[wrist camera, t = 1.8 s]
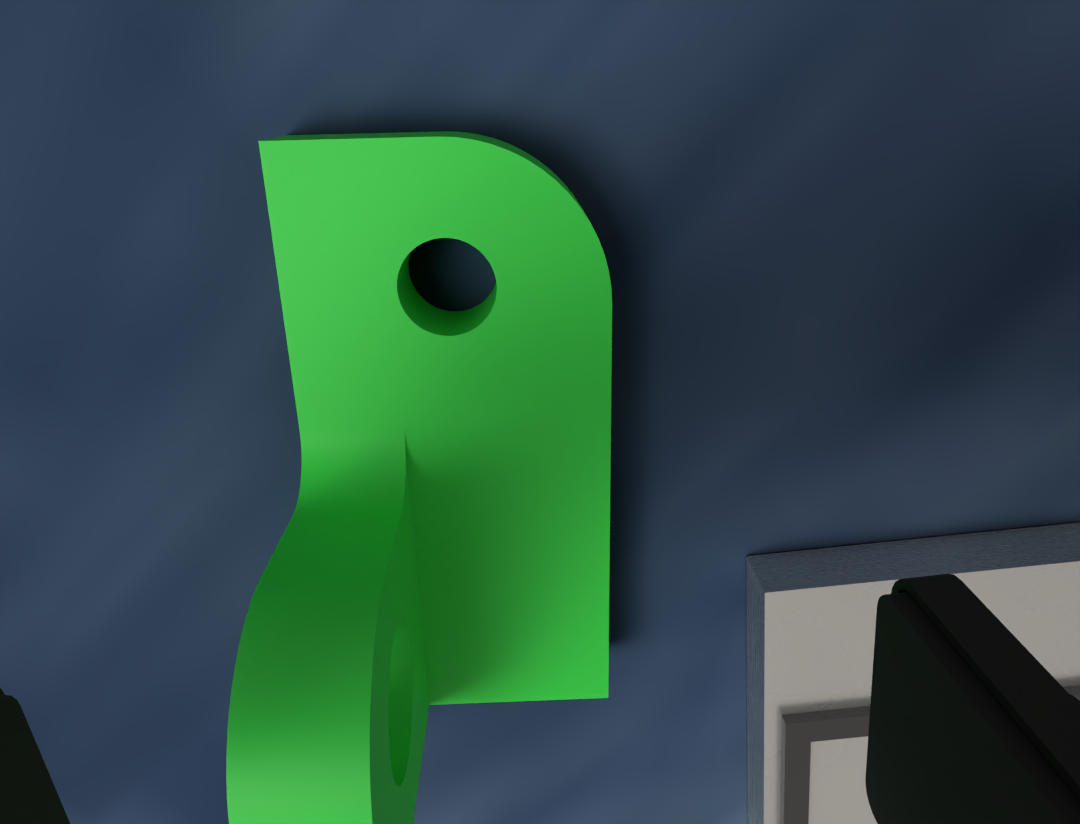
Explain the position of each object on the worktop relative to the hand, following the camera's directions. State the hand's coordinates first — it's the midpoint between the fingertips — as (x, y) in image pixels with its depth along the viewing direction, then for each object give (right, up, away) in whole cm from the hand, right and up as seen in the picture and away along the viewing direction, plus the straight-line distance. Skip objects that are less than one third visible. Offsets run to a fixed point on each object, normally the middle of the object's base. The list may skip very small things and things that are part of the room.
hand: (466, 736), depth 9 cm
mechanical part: (-1, +3, +9) cm, 10 cm away
